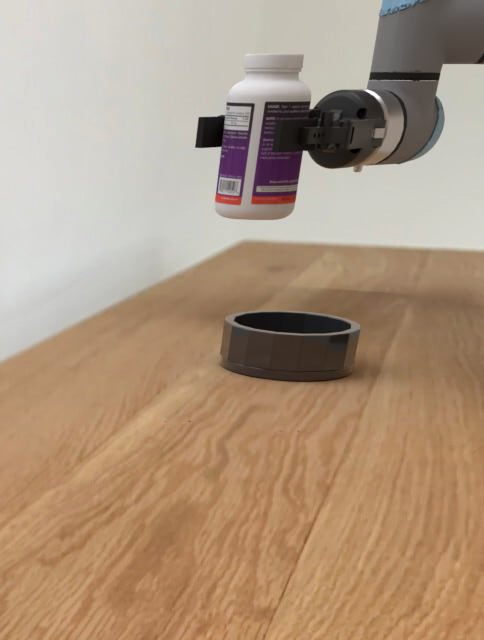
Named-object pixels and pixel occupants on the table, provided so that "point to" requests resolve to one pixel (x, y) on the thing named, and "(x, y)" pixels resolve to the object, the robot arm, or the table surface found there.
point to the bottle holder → (289, 345)
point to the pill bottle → (261, 140)
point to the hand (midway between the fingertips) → (237, 134)
